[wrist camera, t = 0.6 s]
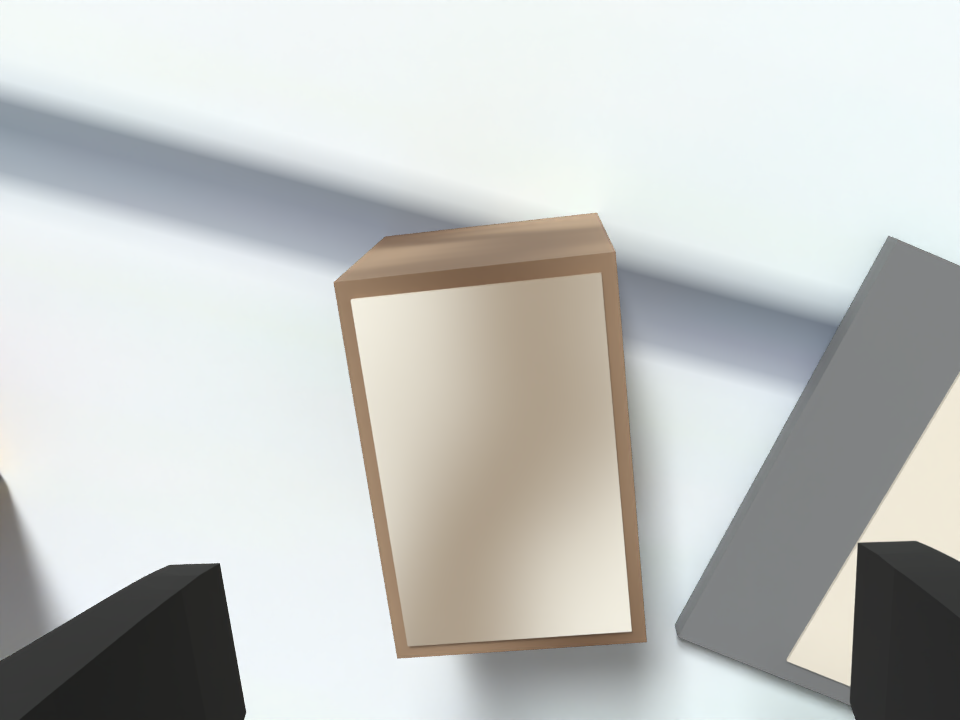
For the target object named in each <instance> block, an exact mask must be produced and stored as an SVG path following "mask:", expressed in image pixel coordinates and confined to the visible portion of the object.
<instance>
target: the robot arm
mask: <svg viewBox="0 0 960 720" xmlns="http://www.w3.org/2000/svg"><path fill="white" fill-rule="evenodd" d="M850 705H851V707H852V710H853V713H854V716H855V719H856V720H960V561H958V560H956V559H954V558H952V557H950V556H948V555H946V554H944V553H942V552H940V551H938V550H936V549H934V548H932V547H930V546H927V545H925V544H923V543H920V542H918V541H891V542H860V543H858V546H857V566H856V586H855V605H854V625H853V645H852V665H851V685H850ZM245 714H246V709H245V703H244V698H243V692H242V686H241V681H240V675H239V669H238V664H237V658H236V652H235V647H234V641H233V635H232V630H231V624H230V619H229V613H228V607H227V602H226V596H225V590H224V585H223V579H222V573H221V568H220V563H214V564H183V565H168V566H166V567H164V568H162V569H159V570H157V571H155V572H153V573H151V574H149V575H147V576H145V577H143V578H141V579H139V580H138V581H136V582H134V583H132V584H130V585H129V586H127V587H125V588H123V589H122V590H120V591H118V592H116V593H115V594H113V595H111V596H110V597H108V598H106V599H104V600H103V601H101V602H99V603H98V604H96V605H94V606H93V607H91V608H89V609H88V610H86V611H84V612H83V613H81V614H79V615H78V616H76V617H74V618H73V619H71V620H69V621H68V622H66V623H64V624H63V625H61V626H59V627H58V628H56V629H54V630H53V631H51V632H49V633H48V634H46V635H44V636H43V637H41V638H39V639H37V640H36V641H34V642H32V643H31V644H29V645H27V646H26V647H24V648H22V649H21V650H19V651H17V652H16V653H14V654H12V655H10V656H9V657H7V658H5V659H3V660H1V661H0V720H244V718H245Z"/></svg>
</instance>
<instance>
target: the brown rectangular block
mask: <svg viewBox="0 0 960 720" xmlns="http://www.w3.org/2000/svg"><path fill="white" fill-rule="evenodd" d="M334 287H335V293H336V299H337V305H338V311H339V317H340V323H341V329H342V335H343V340H344V346H345V352H346V358H347V364H348V370H349V376H350V382H351V388H352V394H353V399H354V405H355V411H356V417H357V423H358V429H359V435H360V441H361V447H362V453H363V459H364V464H365V470H366V476H367V482H368V488H369V494H370V500H371V506H372V512H373V518H374V523H375V529H376V535H377V541H378V547H379V553H380V559H381V565H382V571H383V577H384V582H385V588H386V594H387V600H388V606H389V612H390V618H391V624H392V630H393V636H394V641H395V647H396V653H397V658H412V657H427V656H442V655H458V654H473V653H488V652H503V651H518V650H534V649H549V648H564V647H579V646H595V645H610V644H625V643H640V642H647V639H646V627H645V614H644V602H643V589H642V577H641V564H640V552H639V539H638V527H637V514H636V502H635V489H634V477H633V464H632V452H631V439H630V427H629V414H628V402H627V389H626V377H625V364H624V352H623V339H622V327H621V314H620V302H619V289H618V277H617V264H616V252H615V250H614V248H613V245H612V243H611V241H610V239H609V237H608V235H607V233H606V231H605V229H604V227H603V225H602V222H601V220H600V218H599V216H598V214H597V213H590V214H581V215H572V216H563V217H554V218H546V219H537V220H528V221H519V222H510V223H501V224H492V225H484V226H475V227H466V228H457V229H448V230H439V231H431V232H422V233H413V234H404V235H395V236H386V237H384V238H383V239H382V240H381V241H380V242H378V243H377V244H376V245H375V246H374V247H373V248H372V249H371V250H369V251H368V252H367V253H366V254H365V255H364V256H363V257H362V258H360V259H359V260H358V261H357V262H356V263H355V264H354V265H353V266H351V267H350V268H349V269H348V270H347V271H346V272H345V273H344V274H343V275H341V276H340V277H339V278H338V279H337V280H336V281H335V282H334Z"/></svg>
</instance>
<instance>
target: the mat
mask: <svg viewBox="0 0 960 720" xmlns="http://www.w3.org/2000/svg"><path fill="white" fill-rule="evenodd" d="M891 541H918V542H920V543H923V544H925V545H927V546H930V547H932V548H934V549H936V550H938V551H940V552H942V553H944V554H946V555H948V556H950V557H952V558H954V559H956V560H958V561H960V266H959V265H957V264H954V263H952V262H950V261H947V260H945V259H942V258H940V257H938V256H935V255H933V254H931V253H928V252H926V251H924V250H921V249H919V248H917V247H914V246H912V245H910V244H907V243H905V242H902V241H900V240H898V239H895V238H893V237H890V236H888V238H887V240H886V242H885V243H884V245H883V247H882V249H881V251H880V253H879V254H878V256H877V258H876V260H875V262H874V263H873V265H872V267H871V269H870V271H869V273H868V274H867V276H866V278H865V280H864V282H863V283H862V285H861V287H860V289H859V291H858V293H857V294H856V296H855V298H854V300H853V302H852V303H851V305H850V307H849V309H848V311H847V313H846V314H845V316H844V318H843V320H842V322H841V324H840V325H839V327H838V329H837V331H836V333H835V334H834V336H833V338H832V340H831V342H830V344H829V345H828V347H827V349H826V351H825V353H824V354H823V356H822V358H821V360H820V362H819V364H818V365H817V367H816V369H815V371H814V373H813V374H812V376H811V378H810V380H809V382H808V384H807V385H806V387H805V389H804V391H803V393H802V394H801V396H800V398H799V400H798V402H797V404H796V405H795V407H794V409H793V411H792V413H791V414H790V416H789V418H788V420H787V422H786V424H785V425H784V427H783V429H782V431H781V433H780V435H779V436H778V438H777V440H776V442H775V444H774V445H773V447H772V449H771V451H770V453H769V455H768V456H767V458H766V460H765V462H764V464H763V465H762V467H761V469H760V471H759V473H758V475H757V476H756V478H755V480H754V482H753V484H752V485H751V487H750V489H749V491H748V493H747V495H746V496H745V498H744V500H743V502H742V504H741V505H740V507H739V509H738V511H737V513H736V515H735V516H734V518H733V520H732V522H731V524H730V526H729V527H728V529H727V531H726V533H725V535H724V536H723V538H722V540H721V542H720V544H719V546H718V547H717V549H716V551H715V553H714V555H713V556H712V558H711V560H710V562H709V564H708V566H707V567H706V569H705V571H704V573H703V575H702V576H701V578H700V580H699V582H698V584H697V586H696V587H695V589H694V591H693V593H692V595H691V596H690V598H689V600H688V602H687V604H686V606H685V607H684V609H683V611H682V613H681V615H680V616H679V618H678V620H677V622H676V624H675V627H676V631H677V635H678V637H679V638H681V639H684V640H686V641H689V642H691V643H694V644H697V645H699V646H702V647H704V648H707V649H709V650H712V651H714V652H717V653H719V654H722V655H724V656H727V657H729V658H732V659H734V660H737V661H739V662H742V663H744V664H747V665H749V666H752V667H754V668H757V669H759V670H762V671H765V672H767V673H770V674H772V675H775V676H777V677H780V678H782V679H785V680H787V681H790V682H792V683H795V684H797V685H800V686H802V687H805V688H807V689H810V690H812V691H815V692H817V693H820V694H822V695H825V696H827V697H830V698H832V699H835V700H838V701H840V702H843V703H845V704H848V705H850V685H851V665H852V645H853V625H854V605H855V586H856V566H857V546H858V543H860V542H891ZM850 706H851V705H850Z"/></svg>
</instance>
